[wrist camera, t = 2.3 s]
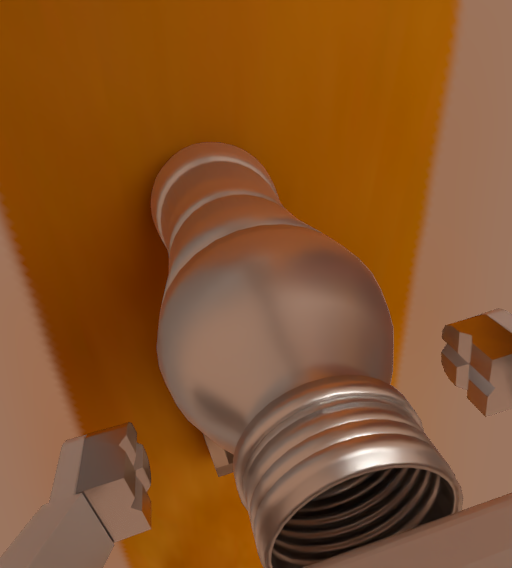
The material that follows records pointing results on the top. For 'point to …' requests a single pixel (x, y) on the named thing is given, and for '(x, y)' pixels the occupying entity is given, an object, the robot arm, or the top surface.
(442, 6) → the top surface
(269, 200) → the silver metal bottle
